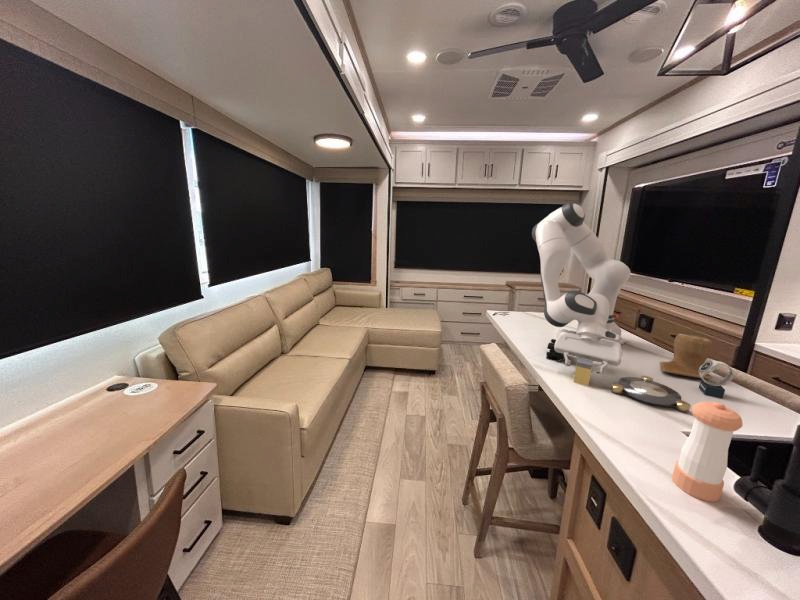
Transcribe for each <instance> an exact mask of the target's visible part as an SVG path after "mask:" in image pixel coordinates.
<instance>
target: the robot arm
mask: <svg viewBox="0 0 800 600" xmlns="http://www.w3.org/2000/svg"><path fill="white" fill-rule="evenodd" d="M585 215H586V214H585V212H584V209H583V208H582V207H581V205H579V204H578V203H576V202H573V201H571V202H567V203H565V204H563V205H562V206H561V207H558V208H557V209H556V210H554V211H552V212H551V213H549V214H548V215H547V216H546V217H544V218H543V219H542V220H540V221H539V222H538V223H536V224H535V225H534V226H533V227H532V231H531V236H532V239H533V240H534V241H535V243H536V246H537V250H538V253H539V260H540V281H541V287H542V293H543V298H544V308H543V315H544V318H545V320H546V322H547V323H549V324H550V325H551V326H554V327H557V328H562V329H559V330H558V331H557V332H556V339H555V340H556V342H555V345H554V349H555V351H556V352H558V353H562V354H564V358H565V359H564V360H565V362H564V365H565V367H566V366H567V367H571V363H572V362H571V361H572V360H571V359H569V356H572V357H576V358H582V359H586V360H590V361H593V362H597V363H601V365H600V366H597V367H596V372H595V373H596V374H599V375H602V373H603V372H602V371H603V370H604V369H605V368H607V365H610V366H614V367H618V366H619V365H621V362H622V356H623V353H622V352H623V351H622V345H624V344H625V343H626V342H627V340H626V339H625V338H623V337H622V329H621V328H620V326H618V324H616V322H615V319H616V320H617V319H618V318H619V314H618V313H614V311H615V307H616V302H617V297H618V295H619V293H620V291H621V289H622V287H623V286H624V284H625V283H626V282H628V280H629V279H630V277H631V269H630V268H629V266H628V265H626V264H625V263H624V262H622V261H620V260H616V259H613V258H611V257H610V256H609V255H608V253H607V252H606V250H605V248H604V245H603V242H602V241H601V240H600V239H599V238H598V236H597V235H596V234H595V233H594V232H593V230H592V229H591V228H590V227H589V226H588V225H587V224H586V223H585V217H586V216H585ZM572 252H573V254H574V255H575V256H576V257H577V259H578V260H579V262H580V264H581V266H582V267H583V269H584V270H585V272H586V273H587V275H588V276H589V277H590V278H591V279H592V280H594V283H593V287H592V289H591V291H590V292H588V293H584V292H581V291H579V290H570V291H568V292H565V293H564V294H563V295H561V291H560V286H559V279H560V276H561V274H562V271H563V270H564V268H565V267H566V265H567V264H568V262H569V260H570V258H571V253H572ZM573 321H577V322H578V324H577V327H576V328H577V329H576V331H575V330H568V329H564V328H563V327H566V326H567V325H568V324H570V323H571V322H573Z"/></svg>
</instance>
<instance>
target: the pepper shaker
mask: <svg viewBox="0 0 800 600" xmlns="http://www.w3.org/2000/svg"><path fill="white" fill-rule="evenodd" d="M691 413H692V415H693V417H694V421H693V424H692V428H691V431H690V434H689V435H688V437H687V439H686V440H685V442H684V443H683V446H682V448H681V451H680V456H679V459H678V460H677V461H676V462H675V464H674V468H673V472H672V476H671V480H672V482H673V483H674V484H675V485H676V487H678V488H679V489H680V490H682V491H683V492H685V493H686V494H688V495H690V496H692V497H694V498H695V499H699V500H701V501H704V502H705V501H706V502H709V503H710V502H718V501H719V500H720V498H721V495H722V492H723V488H724V485H725V481H724V480H723V479H724V476H725V474H726V473H727V472H726V471H727V468H728V459H729V457H728V456H729V447H730V444H731V443H732V442H731V441H732V438H733V435H734V432H736V431H738V430H740V429H741V428H742V427H743V425H744V424H743V419H742V417H741V416H740V414H739V413H738V412H736V411H735V410H733V409H731V408H730V407H729V406H728V407H727V405H725V404H724V403H721V402H719V401H718V402H717V401H715V402H713V401H699V402H697V403H695V404H693V405H692V407H691Z"/></svg>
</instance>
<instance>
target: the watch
mask: <svg viewBox="0 0 800 600" xmlns="http://www.w3.org/2000/svg"><path fill="white" fill-rule="evenodd" d="M720 365H722V366H725V367H727V368H729V372H728V374H727V375H726V376H725V377H724V378H722V379H720V381H718V382H717V381H711V380H708V379H704V378H703V377H704V376H705V375H706V374H709V375H710V374H711V373H713V372H714V371H715V369H716V368H717V367H719V366H720ZM698 371H699V375H700V377H701V378H700V381H699V385H698V388H699V390H700V391H701V392H702V394H703V395H704V396H707V397H713V398H716V399H723V398H724V395H725V393H726V389H725V388H724V387H723V386H726V385H728V384H729V383H730V382H731V381H733V379H734V377H735V376H734V375H735V371H734V370H733V368H732V367H731V366H729V365H728V364H727V363H726V362H724V361H719V360H708V361H707V360H706V361H705V362H704V363H703V364H702V365H701V366H700V367H699V370H698Z"/></svg>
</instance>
